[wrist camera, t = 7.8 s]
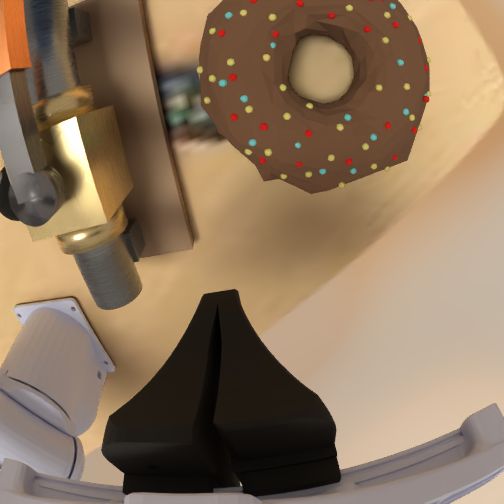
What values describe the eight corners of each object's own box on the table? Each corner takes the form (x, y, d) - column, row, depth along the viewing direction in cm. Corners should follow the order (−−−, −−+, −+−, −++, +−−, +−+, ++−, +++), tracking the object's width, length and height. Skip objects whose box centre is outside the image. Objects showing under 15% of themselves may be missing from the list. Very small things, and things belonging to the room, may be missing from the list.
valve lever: (77, 203, 13) (59, 222, 11) (38, 214, 13) (18, 234, 11) (30, -21, 7) (7, -28, 5) (-9, 4, 7) (-34, 1, 5)
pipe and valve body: (162, 254, 22) (145, 315, 16) (104, 264, 22) (75, 323, 16) (100, -6, 13) (53, -32, 7) (37, 22, 13) (-23, 15, 7)
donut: (154, 75, 17) (132, 75, 13) (310, -57, 13) (333, -87, 8) (310, 216, 23) (330, 252, 19) (440, 97, 19) (485, 108, 14)
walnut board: (193, 240, 23) (192, 248, 22) (85, 260, 23) (79, 269, 22) (140, -13, 14) (135, -18, 12) (21, 37, 14) (12, 37, 13)
